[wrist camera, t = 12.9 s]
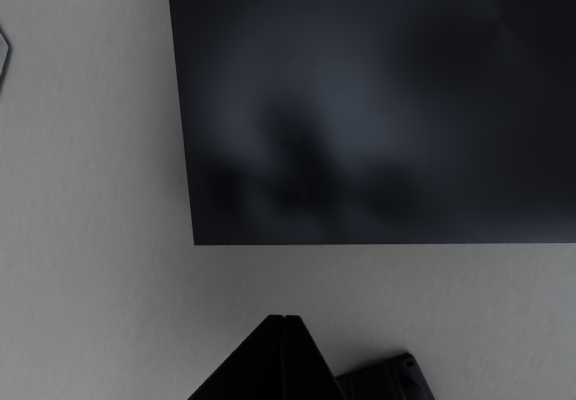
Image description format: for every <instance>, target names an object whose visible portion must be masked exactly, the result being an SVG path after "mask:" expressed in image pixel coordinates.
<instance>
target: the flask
mask: <svg viewBox="0 0 576 400" xmlns="http://www.w3.org/2000/svg"><path fill="white" fill-rule="evenodd" d="M7 51H8V45H7V43H6V42H5V40H4V38H3V37H2V35H1V33H0V76H1V72H2V69H3V65H4V62H5V58H6V55H7Z"/></svg>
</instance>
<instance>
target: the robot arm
mask: <svg viewBox="0 0 576 400" xmlns="http://www.w3.org/2000/svg"><path fill="white" fill-rule="evenodd" d="M407 361H410V362H407ZM187 400H435V399H434V397H433V395H432V393H431V390H430V388H429V386H428V384H427V382H426V380H425V378H424V376H423V374H422V372H421V370H420V368H419V366H418V364H417V362H416V360H415V358H414V356H413V355H411V354H404V355H401V356H398V357H395V358H392V359H389V360H387V361H384V362H381V363H378V364H375V365H372V366H369V367H366V368H363V369H361V370H358V371H355V372H352V373H349V374H346V375H343V376H340V377H338V378H334V376H333V374H332V372H331V371H330V369H329V367H328V365H327V363H326V361H325V360H324V358H323V356H322V354H321V352H320V351H319V349H318V347H317V345H316V343H315V342H314V340H313V338H312V336H311V334H310V333H309V331H308V329H307V327H306V325H305V324H304V322H303V320H302V318H301V317H300V316H298V315H286V316H285V317H284V316H283V315H268V316H267V317H266V318H265V319H264V320H263V321H262V322H261V323H260V324H259V325H258V326H257V327H256V328H255V330H254V331H253V332H252V333H251V334H250V335H249V336H248V337H247V338H246V339H245V340H244V341H243V342H242V343H241V344H240V345H239V346H238V347H237V348H236V349H235V350H234V351H233V352H232V353H231V355H230V356H229V357H228V358H227V359H226V360H225V361H224V362H223V363H222V364H221V365H220V366H219V367H218V368H217V369H216V370H215V371H214V372H213V373H212V374H211V375H210V376H209V377H208V378H207V379H206V381H205V382H204V383H203V384H202V385H201V386H200V387H199V388H198V389H197V390H196V391H195V392H194V393H193V394H192V395H191V396H190V397H189V398H188V399H187Z"/></svg>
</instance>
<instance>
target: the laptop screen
mask: <svg viewBox="0 0 576 400" xmlns="http://www.w3.org/2000/svg"><path fill="white" fill-rule="evenodd" d="M169 4H170V14H171V24H172V33H173V43H174V53H175V62H176V72H177V82H178V92H179V101H180V111H181V121H182V130H183V140H184V150H185V160H186V169H187V179H188V189H189V198H190V208H191V218H192V228H193V237H194V245H323V244H466V243H576V0H169Z"/></svg>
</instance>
